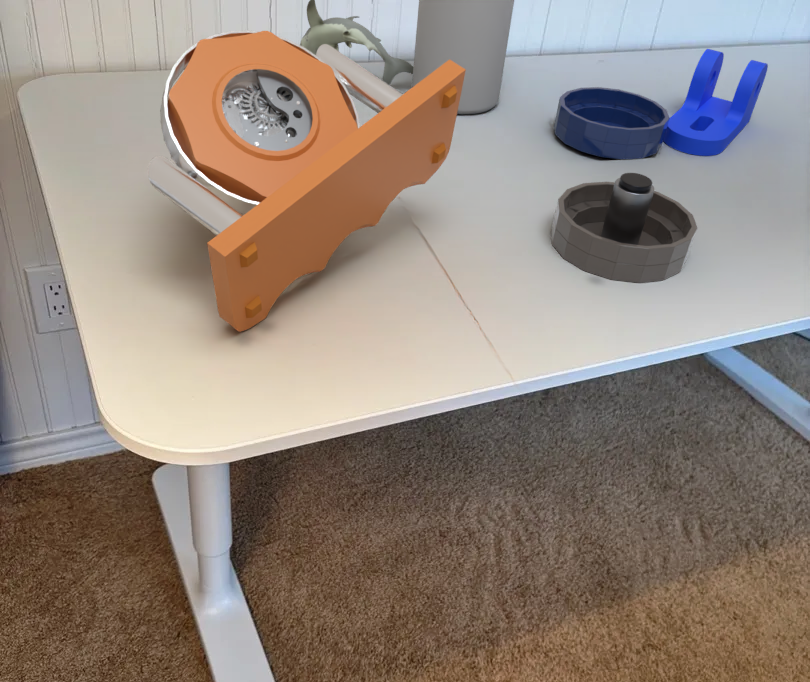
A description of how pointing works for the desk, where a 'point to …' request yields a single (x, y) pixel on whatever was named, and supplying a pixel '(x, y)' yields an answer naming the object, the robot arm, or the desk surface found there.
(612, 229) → the shaker
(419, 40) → the cylinder vase
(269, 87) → the desk clock
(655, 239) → the grey bowl
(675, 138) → the bracket
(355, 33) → the grey-green dolphin figure
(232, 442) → the desk surface
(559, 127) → the blue bowl
